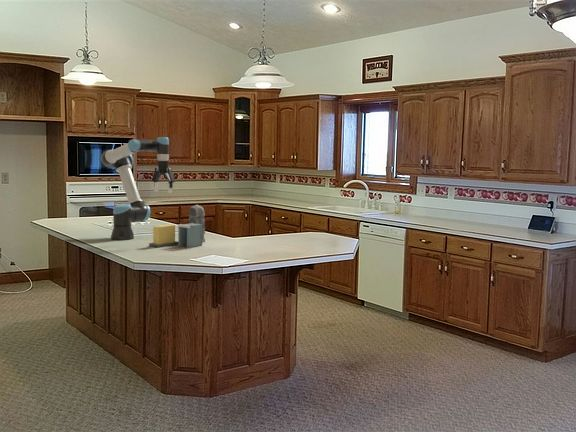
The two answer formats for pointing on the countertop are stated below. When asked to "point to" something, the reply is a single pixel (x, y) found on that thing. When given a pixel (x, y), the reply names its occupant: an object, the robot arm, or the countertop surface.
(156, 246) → the tray
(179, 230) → the dispenser
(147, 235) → the countertop surface
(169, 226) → the yellow tall slab
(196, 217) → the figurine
